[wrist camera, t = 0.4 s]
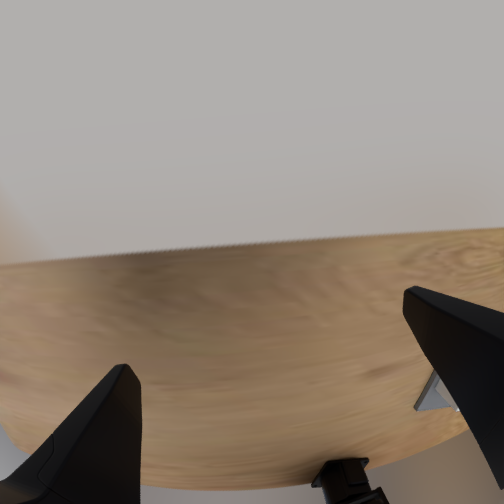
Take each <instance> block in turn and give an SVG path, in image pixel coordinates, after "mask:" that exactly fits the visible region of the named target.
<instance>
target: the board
mask: <svg viewBox="0 0 504 504" xmlns="http://www.w3.org/2000/svg"><path fill="white" fill-rule="evenodd" d="M439 380H440V377H439V376H438V374H437V373H436V371H435V369H434V371H433V373H432V375H431V377H430V379H429V381H428V383H427V385H426V387H425V389H424V391H423V392H422V394H421V396H420V398H419V400H418V401H417V403H416V405H415V406H414V409H415V410H416V411H424V410H432V409H439V408H445V407H451V406H450V405H449V404H448V402H447V401H446V400H445V399H444V398H443V397H442V396H441V395H440V394H439V392H438V391H437V390H436V389H435V387H436V386H437V384H438V382H439Z"/></svg>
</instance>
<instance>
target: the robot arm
mask: <svg viewBox="0 0 504 504" xmlns="http://www.w3.org/2000/svg"><path fill="white" fill-rule="evenodd" d="M403 315H404V317H405V319H406V321H407V323H408V325H409V327H410V328H411V330H412V332H413V334H414V336H415V338H416V340H417V342H418V343H419V345H420V347H421V349H422V351H423V352H424V354H425V356H426V357H427V359H428V360H429V362H430V363H431V365H432V366H433V368H434V369H435V371H436V373H437V374H438V376H439V377H440V379H441V380H442V382H443V384H444V385H445V387H446V388H447V390H448V392H449V393H450V395H451V397H452V398H453V400H454V402H455V403H456V405H457V407H458V408H459V410H460V412H461V413H462V415H463V417H464V419H465V420H466V422H467V424H468V426H469V428H470V429H471V431H472V433H473V435H474V437H475V439H476V440H477V442H478V444H479V446H480V448H481V450H482V452H483V454H484V456H485V458H486V460H487V462H488V464H489V466H490V468H491V471H492V473H493V475H494V477H495V479H496V481H497V483H498V486H499V487H500V489H501V490H502V489H504V313H503V312H499V311H496V310H493V309H490V308H487V307H484V306H481V305H477V304H474V303H471V302H468V301H464V300H461V299H458V298H455V297H452V296H448V295H445V294H442V293H439V292H435V291H432V290H429V289H425V288H422V287H419V286H413V287H410V288H408V289H406V290H405V291H404V298H403ZM141 441H142V404H141V384H140V381H139V379H138V378H137V376H136V375H135V373H134V372H133V370H132V369H131V367H130V366H129V365H128V364H118V365H115V366H114V367H113V368H112V369H111V370H110V371H109V373H108V374H107V375H106V376H105V377H104V378H103V379H102V380H101V381H100V382H99V383H98V384H97V385H96V386H95V387H94V388H93V390H92V391H91V392H90V393H89V394H88V395H87V396H86V397H85V398H84V399H83V400H82V401H81V402H80V404H79V405H78V406H77V407H76V408H75V409H74V410H73V411H72V412H71V413H70V414H69V415H68V417H67V418H66V419H65V420H64V421H63V422H62V423H61V424H60V425H59V426H58V427H57V429H56V430H55V431H54V432H53V434H51V435H50V436H49V437H48V438H47V440H46V441H45V442H44V443H43V444H42V445H41V446H40V447H39V448H38V449H37V450H36V451H35V452H34V453H33V454H32V455H31V456H30V457H29V458H28V459H27V460H26V461H25V462H24V463H23V464H22V465H20V466H19V467H18V468H17V469H16V470H15V471H14V472H13V473H12V474H11V475H10V476H9V477H7V478H6V479H4V480H2V481H0V504H140V468H141ZM368 462H369V459H368V458H363V459H352V460H338V461H328V462H326V463H325V465H324V466H323V468H322V469H321V471H320V472H319V474H318V475H317V477H316V478H315V480H314V481H313V482H312V484H311V487H312V488H316V487H322V490H323V493H324V497H325V501H326V504H389V502H388V500H387V498H386V496H385V494H384V492H383V491H382V488H381V487H378V488H377V489H375V490H371V488H370V485H369V483H368V481H369V480H368V478H367V476H366V473H365V471H364V468H365V466H366V465H367V464H368Z"/></svg>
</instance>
